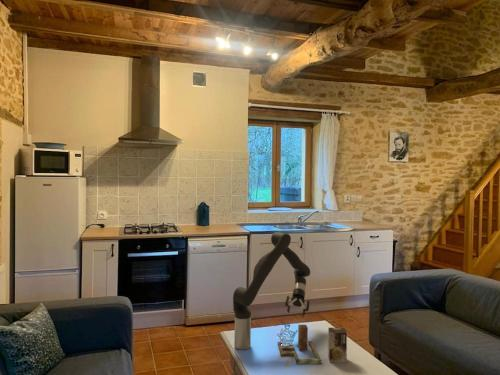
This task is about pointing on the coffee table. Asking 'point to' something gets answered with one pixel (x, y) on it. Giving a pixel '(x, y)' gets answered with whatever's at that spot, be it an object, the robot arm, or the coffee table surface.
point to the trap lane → (288, 352)
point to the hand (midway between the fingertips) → (295, 313)
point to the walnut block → (302, 337)
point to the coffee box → (337, 345)
